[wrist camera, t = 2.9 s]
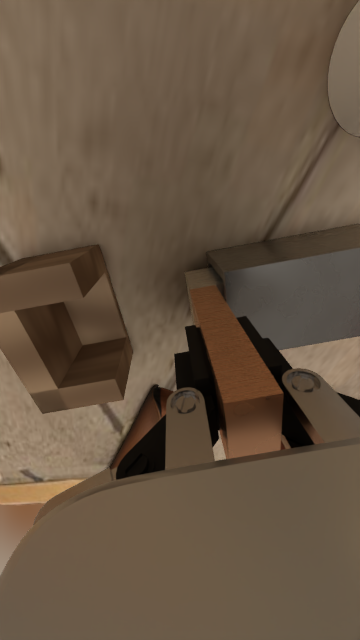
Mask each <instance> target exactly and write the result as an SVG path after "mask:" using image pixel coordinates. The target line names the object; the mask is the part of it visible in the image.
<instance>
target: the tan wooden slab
mask: <svg viewBox="0 0 360 640" xmlns="http://www.w3.org/2000/svg"><path fill="white" fill-rule="evenodd" d="M184 273H185V279H186V285H187V291H188V297H189V304H190V310H191V316H192V321H193V325H196V327H200V331H201V334H202V338H203V341H204V345H205V348H206V352H207V355H208V359H209V362H210V366H211V369H212V373H213V377H214V383H215V390H216V398H217V406H218V413H219V421H220V429H221V430H219V431H220V435H221V439H222V443H223V447H224V451H225V455H226V459H231V458H237V457H242V456H248V455H254V454H260V453H266V452H272V451H278V450H280V447H281V430H282V412H283V395H284V393H283V392H282V390H281V388H280V387H279V385H278V384H277V382H276V380H275V379H274V377H273V376H272V374H271V372H270V371H269V369H268V368H267V366H266V365H265V363H264V361H263V360H262V358H261V357H260V355H259V353H258V352H257V350H256V349H255V347H254V345H253V344H252V342H251V341H250V339H249V338H248V336H247V334H246V333H245V331H244V330H243V328H242V326H241V325H240V323H239V322H238V320H237V318H236V317H235V315H234V314H233V312H232V311H231V309H230V307H229V306H228V304H227V303H226V301H225V299H224V289H223V279H222V278H221V277H220V275H219V274H218V273H217V271H216V270H215V269H214V268H213V267H210V268H204V269H199V270H193V271H188V272H184Z"/></svg>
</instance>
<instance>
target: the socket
mask: <svg viewBox="0 0 360 640" xmlns="http://www.w3.org/2000/svg"><path fill="white" fill-rule="evenodd" d="M0 349H1V350H2V352H3V353H4V355H5V356H6V358H7V360H8V361H9V363H10V364H11V366H12V367H13V369H14V370H15V372H16V374H17V375H18V377H19V378H20V380H21V381H22V383H23V384H24V386H25V388H26V389H27V391H28V392H29V394H30V395H31V397H32V398H33V400H34V402H35V403H36V405H37V406H38V408H39V409H40V411H41V412H42V414H44V413H50V412H56V411H61V410H67V409H73V408H79V407H85V406H90V405H96V404H102V403H108V402H114V401H119V400H123V399H124V394H125V389H126V384H127V379H128V374H129V369H130V365H131V360H132V355H133V350H132V347H131V344H130V340H129V337H128V334H127V331H126V328H125V325H124V322H123V319H122V316H121V312H120V309H119V306H118V303H117V300H116V297H115V294H114V291H113V287H112V284H111V281H110V278H109V275H108V272H107V269H106V266H105V262H104V259H103V256H102V253H101V250H100V247H99V244H98V245H92V246H87V247H82V248H76V249H71V250H66V251H60V252H55V253H50V254H44V255H39V256H34V257H28V258H23V259H20V260H17V261H15V262H12V263H9V264H7V265H4V266H2V267H0Z"/></svg>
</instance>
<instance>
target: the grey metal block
mask: <svg viewBox="0 0 360 640" xmlns="http://www.w3.org/2000/svg"><path fill="white" fill-rule="evenodd" d="M206 253H207V262H208V268H210V267H213V268H214V269H215V270H216V271H217V273H218V274H219V275H220V277H221V278H222V279H223V289H224V299H225V301H226V303H227V304H228V306H229V307H230V309H231V311H232V312H233V314H234V315H235V317H236V318H237V317H242V316H247V318H248V319H249V320H250V322H251V323H252V325H253V326H254V327H255V329H256V330H257V331H258V333H259V334H260V336H261V337H262V338H269V339H270V340H271V341H272V343H273V344H274V345H275V347H276V348H277V349H278V350H283V349H289V348H294V347H300V346H306V345H312V344H317V343H323V342H329V341H334V340H340V339H346V338H352V337H357V336H360V224H354V225H349V226H343V227H338V228H333V229H327V230H322V231H316V232H311V233H305V234H300V235H295V236H289V237H284V238H278V239H273V240H268V241H262V242H257V243H251V244H246V245H240V246H235V247H230V248H224V249H219V250H213V251H208V252H206Z"/></svg>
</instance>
